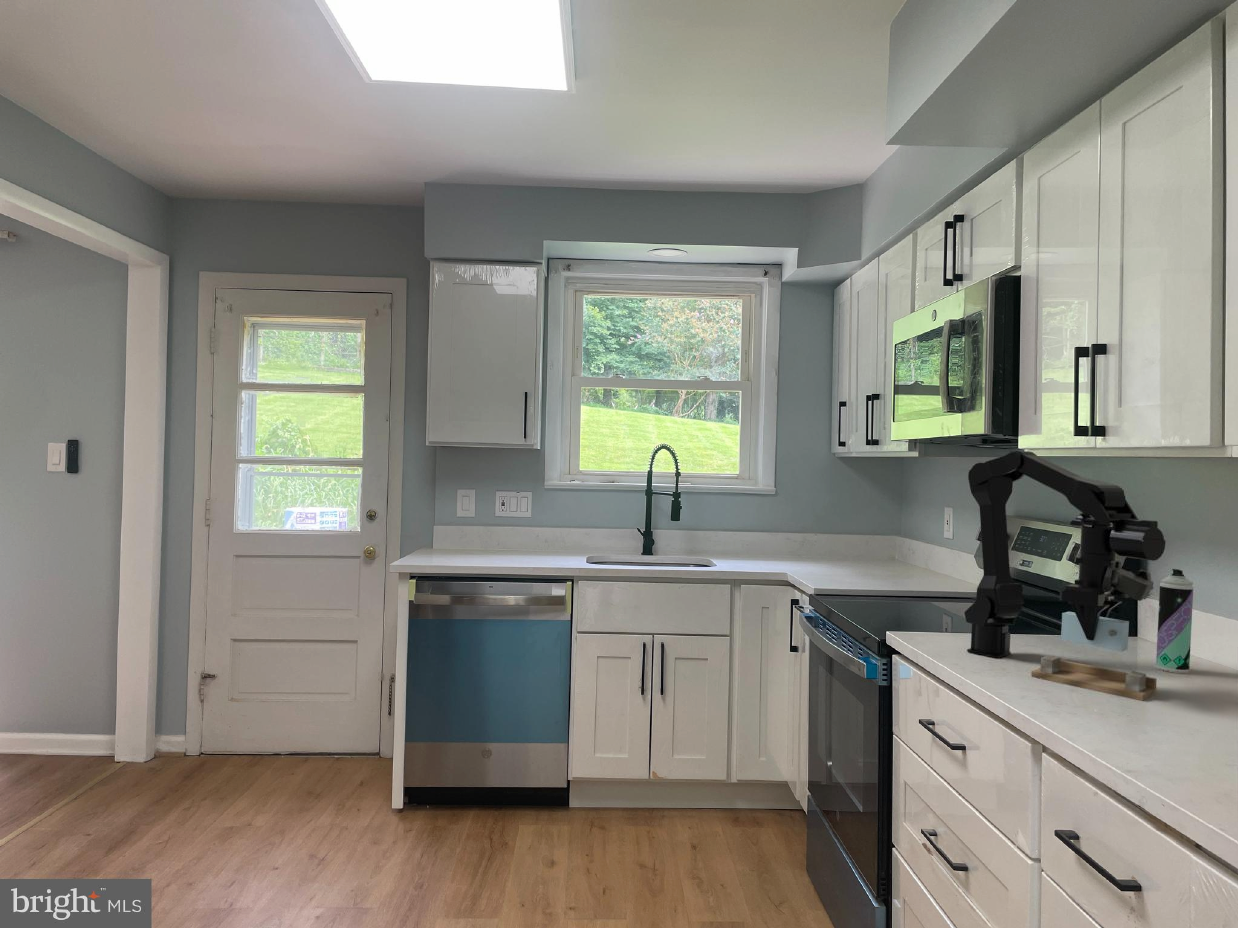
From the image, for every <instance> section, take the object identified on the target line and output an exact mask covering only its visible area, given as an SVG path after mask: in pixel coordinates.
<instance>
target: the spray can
mask: <svg viewBox="0 0 1238 928" xmlns="http://www.w3.org/2000/svg"><path fill="white" fill-rule="evenodd" d="M1193 584H1194V583H1193V582H1192V581H1190V580H1188V579H1187V577H1186V575H1185V574H1184V573H1183V570H1181V569H1178V568H1172V569H1171V573H1170V574H1168V576H1166V577H1165V578H1162V579H1160V583H1159V595H1158V596H1159V597H1158V616H1157V617H1158V618H1157V619H1158V620H1157V636H1156V638H1157V639H1156V659H1155V668H1156V669H1157V668H1158V670H1159V669H1160V671H1163V670H1164V671H1163V672H1167V671H1169V672H1168V673H1172V672H1173V673H1174V674H1189V673H1190V664H1191V663H1190V661H1191V660H1190V659H1191V644H1192V643H1191V641H1192V623H1193V622H1192V621H1193V619H1192V618H1193V602H1194V597H1193V596H1194V586H1193Z"/></svg>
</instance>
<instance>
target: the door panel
mask: <svg viewBox="0 0 1238 928" xmlns="http://www.w3.org/2000/svg"><path fill="white" fill-rule="evenodd" d="M1129 625H1130V621H1129V620H1122V619H1116V618H1112V617H1108V618H1105V617H1099V621H1098V626H1097V630H1096V634H1095V638H1094V640H1087V639H1086V636H1085V634H1084V632H1083V629H1082V627H1081V625H1080V623H1079V620H1078V618H1077V616H1076V614H1075V612H1074V611H1066V612H1062V613H1061V631H1060V632H1061V633H1060V641H1063V642H1064V641H1065V642H1070V643H1075V644H1079V645H1083V646H1084V645H1085V646H1091V647H1095V648H1096V647H1097V648H1101V649H1105V650H1106V649H1107V650H1112V651H1116V652H1117V651H1118V652H1125V651H1127V650H1128V648H1129V647H1128V646H1129V645H1128V644H1129V628H1130V627H1129Z"/></svg>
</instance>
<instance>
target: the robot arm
mask: <svg viewBox="0 0 1238 928" xmlns="http://www.w3.org/2000/svg"><path fill="white" fill-rule="evenodd" d="M967 474H968V475H967V478H968V483H969V488H970V489H969V490H970V493H971V495H972V496H973V498H974V500H975V501H976V503H977V504H978V506H979V521H980V536H981V537H980V538H981V553H982V565H983V567H982V568H983V576H982V578H981V580H980V582H979V583H978V586H977V587H976V595H975V596H976V597H975V598H976V599H975V601H974V602H973V603H972V604H971V605H970V606H969V607H968V608H967V609H965V611H964V617H965V622H966V623H968V624H971V635H970V638H971V639H970V648H967V649H966V652H967V653H972V654H977V655H982V656H987V657H992V658H998V659H999V658H1002V657H1005V656H1007V655H1010V654H1011V648H1010V647H1011V633H1010V632H1009V626H1010V625H1011V626H1014V625H1015V623H1016V620H1017V618H1018V615H1019V614H1020V613H1021V612H1022V608H1023V604H1025V600H1024V597H1023V590H1024V587H1023V584H1022V583H1021V582H1017V583H1016V581H1015V580H1014V579H1013V577H1012V576H1011V570H1010V569H1011V568H1010V566H1011V565H1010V555H1009V542H1008V541H1009V538H1008V526H1007V525H1008V524H1007V523H1008V522H1007V509H1006V508H1007V507H1006V506H1007V502H1008V501H1009V499H1010V497H1011V495H1012V493H1013V484H1014V483H1015V482H1017V481H1019V480H1021V479H1023V478H1024V477H1025V476H1027V477H1029V478H1030V479H1032V480H1033V481H1036V482H1038V483H1040V484H1041V485H1044V486H1046V487H1048V488H1049V489H1051V490H1053V491H1056V492H1057V493H1059V494H1061V495H1063V496H1064V497H1066V499H1067V501H1068V503H1069V504H1070V505H1072V506H1073V508H1075V509H1076V510H1078V511H1079V512H1080V513H1079V514H1078V515H1077V517H1075V518H1073V519H1072V520H1071V521H1070V522H1069V525H1071V526H1074V527H1075V526H1076V527H1080V542H1079V543H1080V544H1079V556H1076V557H1075V564H1078V578H1077V579H1074V584H1073V583H1072V584H1067V585H1065V586H1063V587H1061V589H1059V601H1061V602H1066V603H1069V604H1070V606H1071V608H1072V609H1073V612H1074V613H1075V614H1076V616H1077V618H1078V620H1079V623H1080V625H1081V627H1082V629H1083V632H1084V634H1085V636H1086V639H1087V640H1094V638H1095V634H1096V630H1097V626H1098V621H1099V617H1105V618H1109V615H1110V613H1111V611H1112V609H1114V608H1115V607H1117V605H1119V604H1122V603H1123V600H1118V599H1115V596H1119V597H1120V596H1121V599H1129V598H1131V599H1133V600H1136V601H1140V602H1141V601H1143V600H1147V598H1148V596H1149V594H1150V592H1151V591H1152V590H1153V589H1154V581H1152V579H1151V578H1152V577H1151V572H1148V571H1146V570H1144V569H1140V570H1137V571H1136V572H1134V573H1133V572H1132V571H1128V570H1125V569H1123V568H1122V561H1120V560H1121V559H1117V556H1119V557H1123V558H1125V557H1126V558H1131V559H1139V560H1143V561H1144V560H1146V561H1153V562H1154V561H1157V560H1159V559H1160V558H1161V557H1162V555H1163V554H1164V552H1165V548H1166V540H1165V538H1164V537H1165V536H1164V534H1163V531H1162V530H1160V528H1158V527H1159V526H1158V525H1159V524H1158V523H1159V522H1158V520H1153V519H1151V520H1150V519H1148V520H1147V519H1143V520H1139V518H1138V517H1137V515H1136V513H1135V512H1134V510H1133V509H1132V507H1131V506H1130V504H1129V502H1128V501H1127V499H1126V495H1125V491H1124V489H1123V488H1122V487H1121V486H1119V485H1117V484H1114V483H1109V482H1106V481H1101V480H1098V479H1091V478H1087V477H1084V476H1083V477H1082V476H1081V475H1079V474H1076V473H1074V472H1072V471H1070V470H1067V469H1066V468H1063V467H1061V466H1059V465H1058V464H1055V463H1053V462H1051V461H1049V460H1047V459H1045V458H1042V457H1040V456H1038V455H1037V454H1036V453H1034V452H1032V451H1030V450H1029V451H1028V450H1027V451H1026V450H1014V451H1012V452H1009V453H1007V454H1005V455H1003V456H999V457H996V458H994V459H990V460H987V461H985V462H977V463H975V464H974V465H972V466H971V468H970V469H969V470H968V473H967Z"/></svg>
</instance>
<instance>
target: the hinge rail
mask: <svg viewBox="0 0 1238 928" xmlns="http://www.w3.org/2000/svg"><path fill="white" fill-rule="evenodd" d="M1030 674H1031V676H1032V677H1031V676H1030V677H1031V678H1036V679H1040V678H1041V680H1045V679H1046V681H1051V682H1055V683H1058V684H1059V683H1060V684H1063V685H1069V686H1073V687H1079V688H1082V689H1087V690H1091V691H1095V692H1101V693H1106V694H1110V695H1113V696H1119V697H1123V698H1128V699H1132V700H1137V701H1144V700H1146V699H1148V698H1150V697H1151V696H1153V695H1154V694H1156V693H1157V678H1155V677H1150V676H1147V673H1143V672H1139V671H1134V670H1133V671H1131V672H1124V671H1119V670H1115V669H1109V668H1104V667H1099V666H1095V665H1089V664H1084V663H1080V662H1074V661H1070V660H1064V659H1061V656H1056V655H1051V654H1048V655H1045V656H1042V657H1040V667H1038V668H1036V669H1033V670H1031V673H1030Z"/></svg>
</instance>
